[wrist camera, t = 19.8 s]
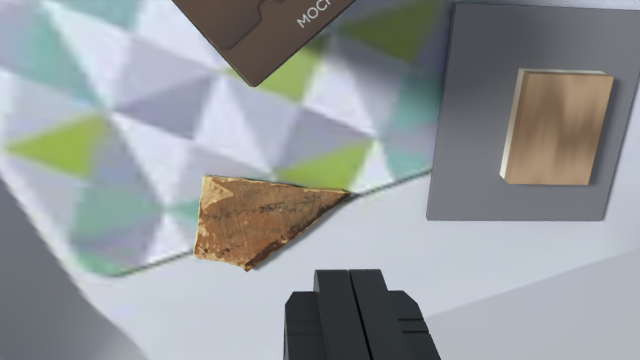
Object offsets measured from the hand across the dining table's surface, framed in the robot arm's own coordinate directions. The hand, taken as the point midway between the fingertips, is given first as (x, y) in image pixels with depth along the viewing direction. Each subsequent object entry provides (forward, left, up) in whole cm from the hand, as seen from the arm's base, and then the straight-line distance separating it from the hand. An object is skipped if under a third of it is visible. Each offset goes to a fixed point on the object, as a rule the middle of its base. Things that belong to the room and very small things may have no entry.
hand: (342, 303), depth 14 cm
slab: (+4, +16, -28) cm, 32 cm away
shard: (+11, -2, -30) cm, 32 cm away
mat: (+4, +18, -29) cm, 34 cm away
